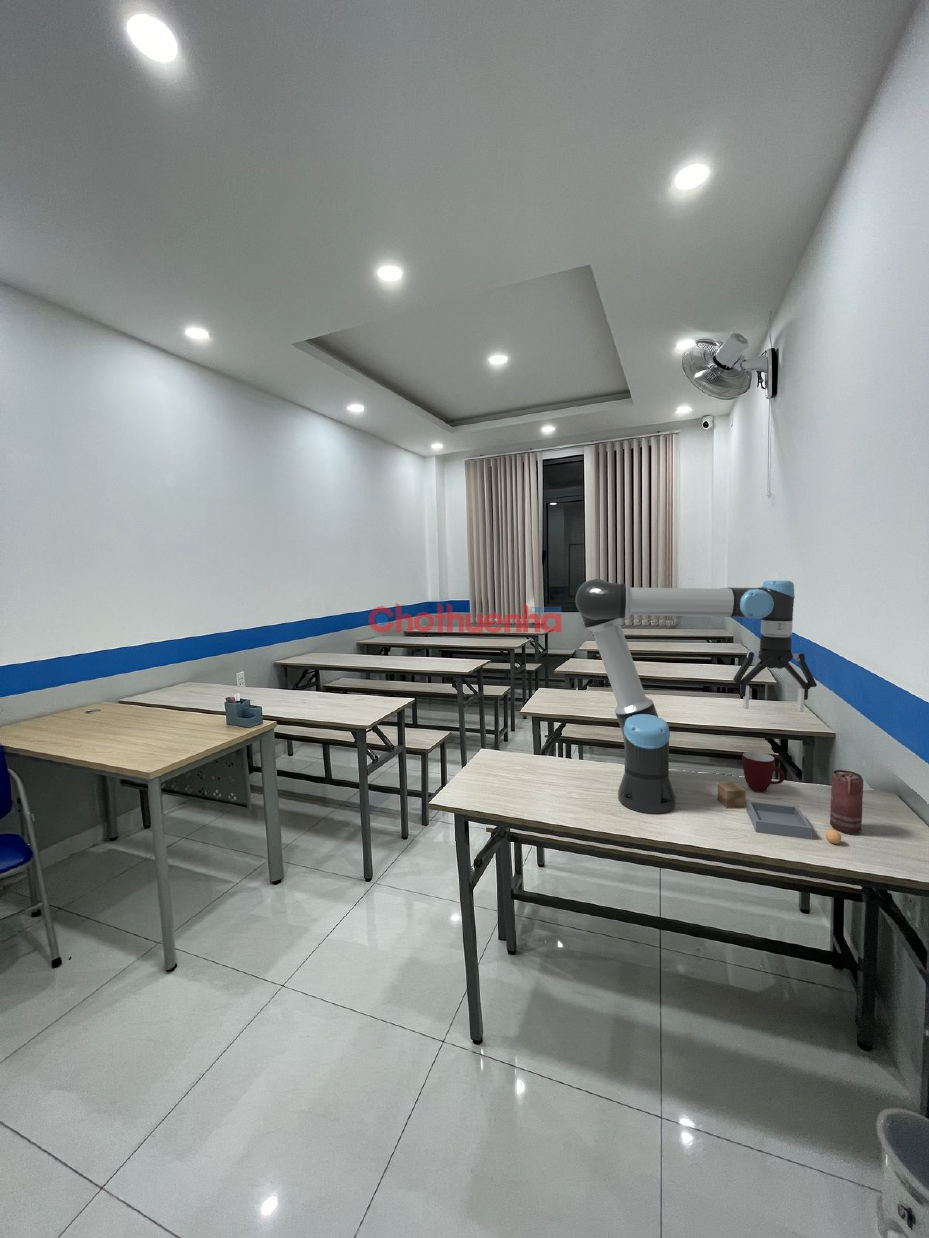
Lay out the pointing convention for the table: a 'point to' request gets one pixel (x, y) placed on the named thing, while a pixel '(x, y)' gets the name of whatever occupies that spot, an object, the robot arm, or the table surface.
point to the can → (846, 802)
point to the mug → (760, 770)
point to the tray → (778, 819)
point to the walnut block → (731, 795)
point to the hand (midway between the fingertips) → (772, 709)
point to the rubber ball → (833, 836)
